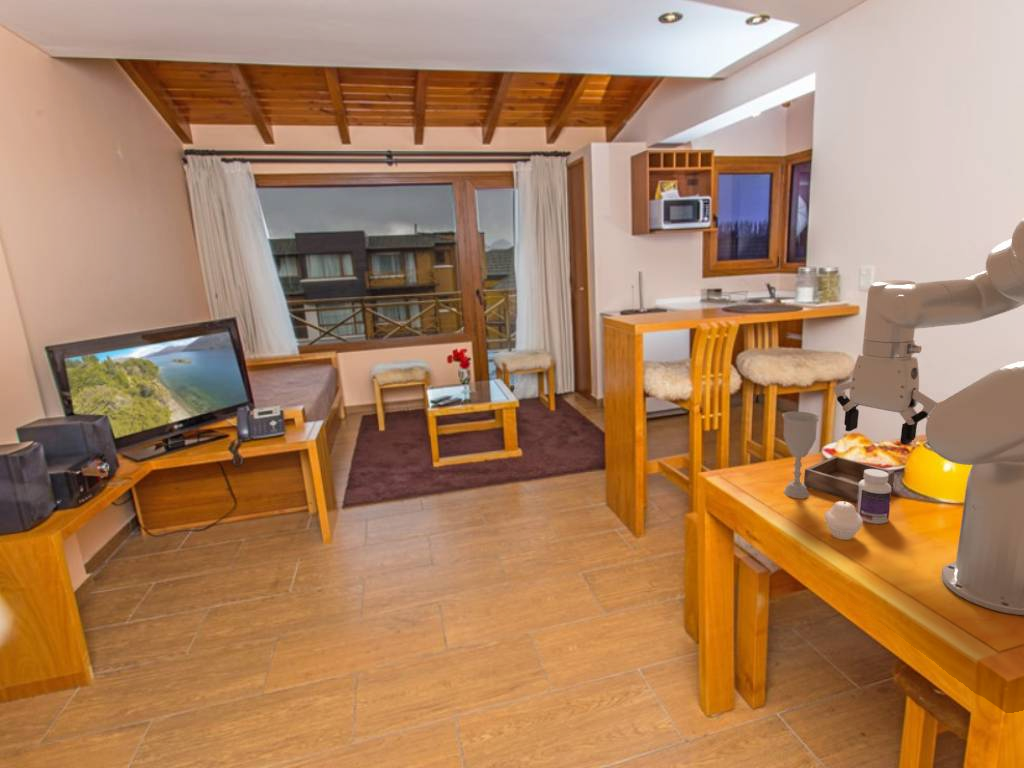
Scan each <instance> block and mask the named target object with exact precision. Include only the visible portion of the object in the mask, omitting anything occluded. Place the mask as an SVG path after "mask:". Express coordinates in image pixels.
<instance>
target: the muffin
mask: <svg viewBox="0 0 1024 768" xmlns="http://www.w3.org/2000/svg"><path fill="white" fill-rule="evenodd" d="M824 521H825V524H826V525H827V527H828V529H829V531H830V534H831V535H832V536H833V537H834V538H835V539H839V540H843V541H849V540H852V539H853V538H854V537H855V535H856V534H857V533H858V532H859V531H860V530H861V527H862V526H863V523H864V521H863V520H862V518H861V516H860V515H859V514H858V513H857V512H856V507H855V506H854V505H853V503H851V502H850V501H849V502H848V501H843V500H842V501H836V502H834V504H833V506H832V507H831V508H830V509H828V510H827V511H826V512H825V514H824Z"/></svg>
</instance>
